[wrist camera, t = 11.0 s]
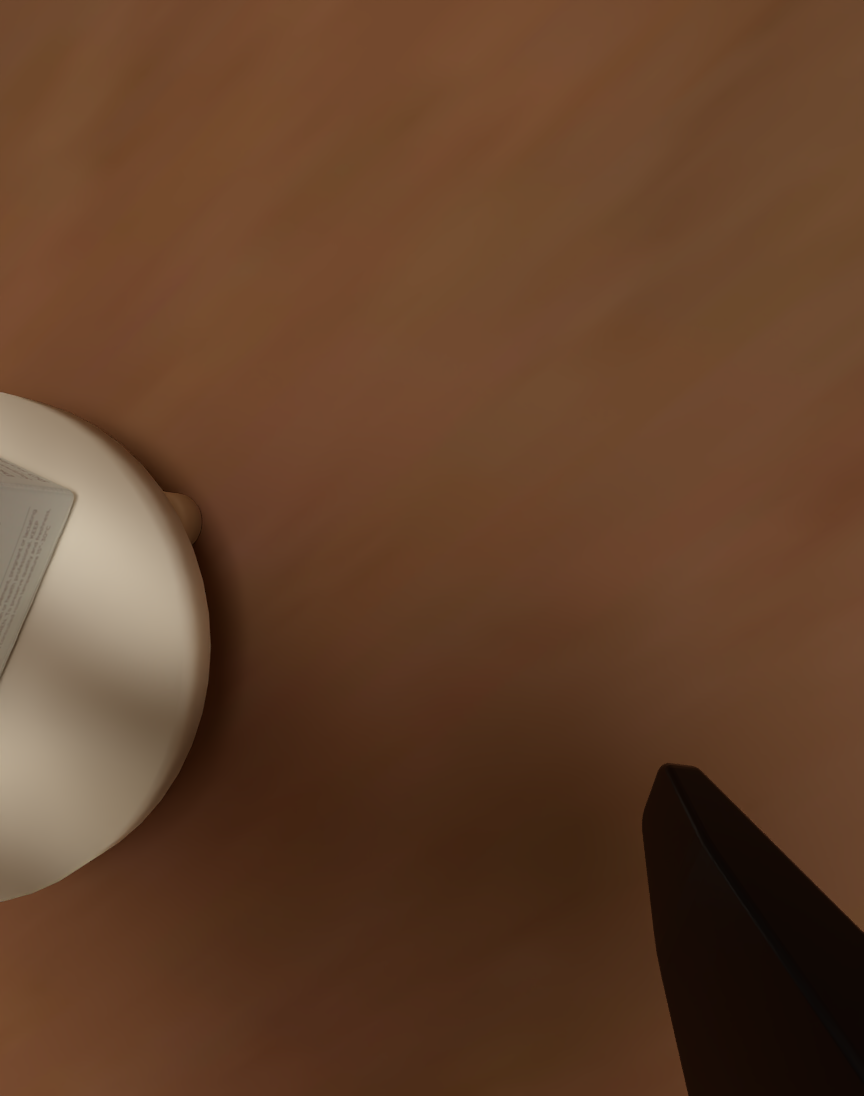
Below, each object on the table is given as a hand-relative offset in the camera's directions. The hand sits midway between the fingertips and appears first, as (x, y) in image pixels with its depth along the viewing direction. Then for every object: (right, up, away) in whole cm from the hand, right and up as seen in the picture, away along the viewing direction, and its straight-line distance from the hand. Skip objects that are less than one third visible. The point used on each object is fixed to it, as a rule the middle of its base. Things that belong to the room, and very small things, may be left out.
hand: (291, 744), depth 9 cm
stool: (-11, 0, +15) cm, 19 cm away
